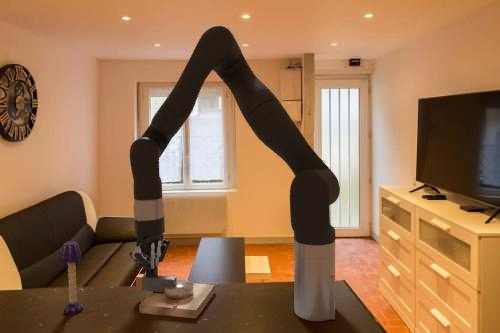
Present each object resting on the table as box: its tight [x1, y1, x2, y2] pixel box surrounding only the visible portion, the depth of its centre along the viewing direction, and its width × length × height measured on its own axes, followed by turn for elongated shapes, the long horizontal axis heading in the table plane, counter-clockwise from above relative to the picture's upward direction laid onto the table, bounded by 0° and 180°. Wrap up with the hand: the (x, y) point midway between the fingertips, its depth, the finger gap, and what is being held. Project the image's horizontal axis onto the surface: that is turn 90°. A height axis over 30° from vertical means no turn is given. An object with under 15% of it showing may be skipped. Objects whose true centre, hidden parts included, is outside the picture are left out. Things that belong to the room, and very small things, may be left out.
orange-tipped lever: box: [135, 273, 193, 299], centre depth 94 cm, size 15×7×4 cm, turn 77°
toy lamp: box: [59, 240, 84, 315], centre depth 89 cm, size 5×5×17 cm
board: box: [138, 282, 216, 319], centre depth 94 cm, size 14×14×2 cm
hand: (152, 280), depth 98 cm, fingers closed
